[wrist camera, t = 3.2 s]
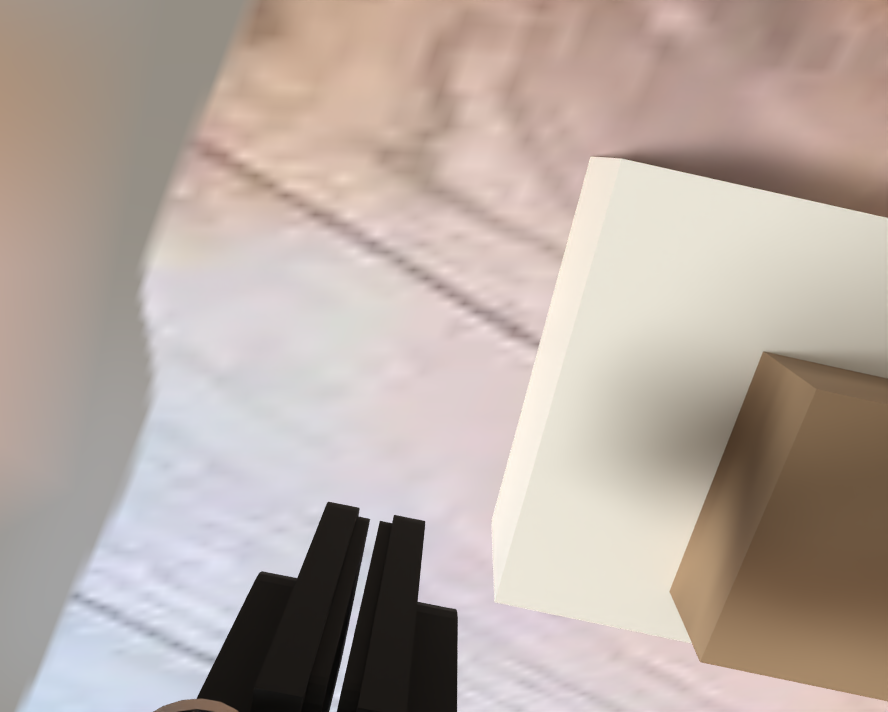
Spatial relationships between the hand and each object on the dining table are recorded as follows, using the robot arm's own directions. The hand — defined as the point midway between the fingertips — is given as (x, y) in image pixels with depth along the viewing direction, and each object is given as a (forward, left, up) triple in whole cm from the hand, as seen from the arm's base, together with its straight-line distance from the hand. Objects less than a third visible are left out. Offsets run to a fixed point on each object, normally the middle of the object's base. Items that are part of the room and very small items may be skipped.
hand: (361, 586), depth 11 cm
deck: (-2, +11, -10) cm, 15 cm away
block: (-1, +11, -6) cm, 13 cm away
